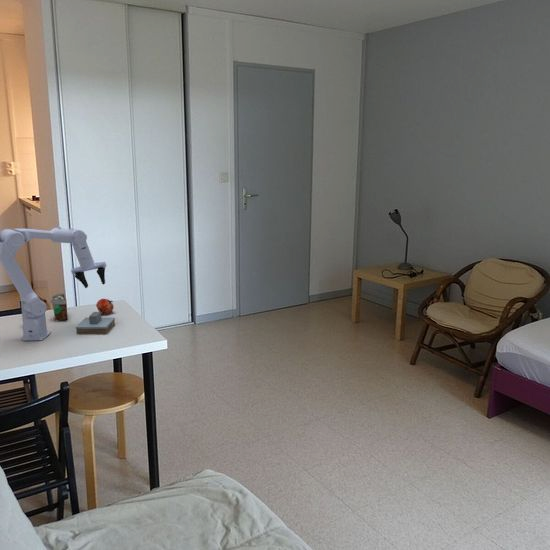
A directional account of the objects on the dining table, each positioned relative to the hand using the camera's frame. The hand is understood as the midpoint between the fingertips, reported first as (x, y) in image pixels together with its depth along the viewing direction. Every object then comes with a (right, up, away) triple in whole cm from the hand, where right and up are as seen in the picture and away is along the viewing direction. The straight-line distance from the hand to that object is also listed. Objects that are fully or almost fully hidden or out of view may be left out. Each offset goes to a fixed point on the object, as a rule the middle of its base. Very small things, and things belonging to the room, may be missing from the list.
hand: (95, 285), depth 227 cm
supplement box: (-27, -17, 0) cm, 32 cm away
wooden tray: (+2, -18, -6) cm, 19 cm away
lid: (+2, -16, -6) cm, 18 cm away
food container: (-19, -15, +9) cm, 26 cm away
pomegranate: (-1, -13, +16) cm, 21 cm away
